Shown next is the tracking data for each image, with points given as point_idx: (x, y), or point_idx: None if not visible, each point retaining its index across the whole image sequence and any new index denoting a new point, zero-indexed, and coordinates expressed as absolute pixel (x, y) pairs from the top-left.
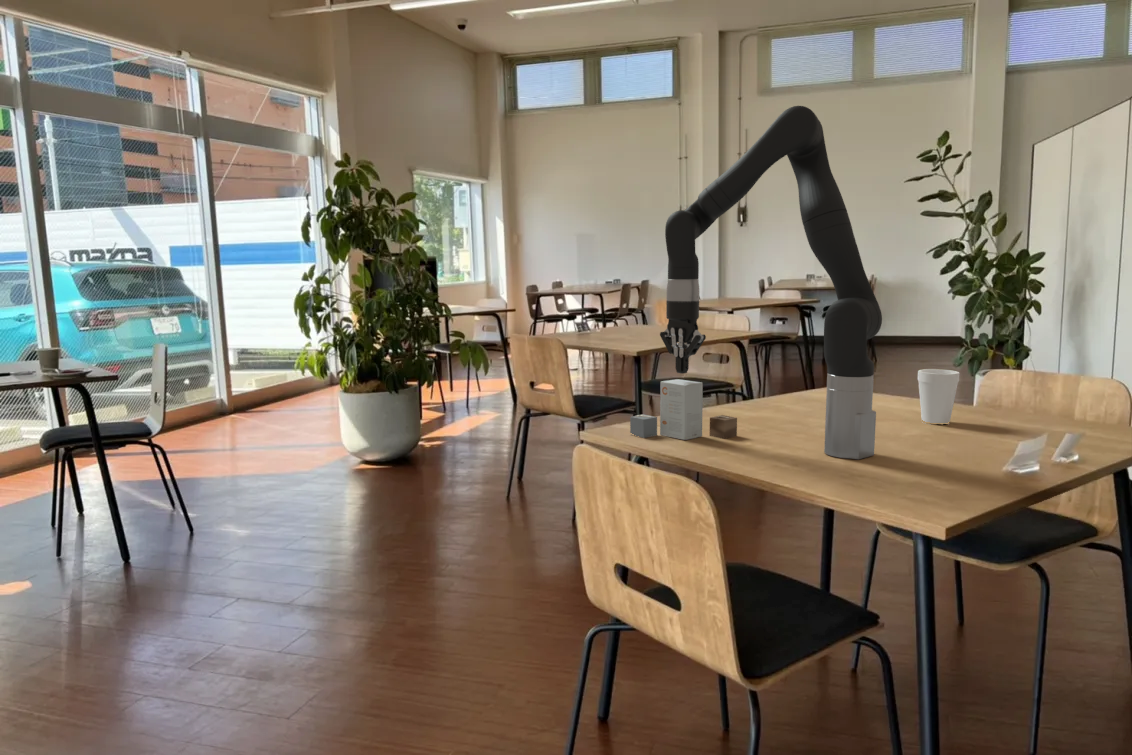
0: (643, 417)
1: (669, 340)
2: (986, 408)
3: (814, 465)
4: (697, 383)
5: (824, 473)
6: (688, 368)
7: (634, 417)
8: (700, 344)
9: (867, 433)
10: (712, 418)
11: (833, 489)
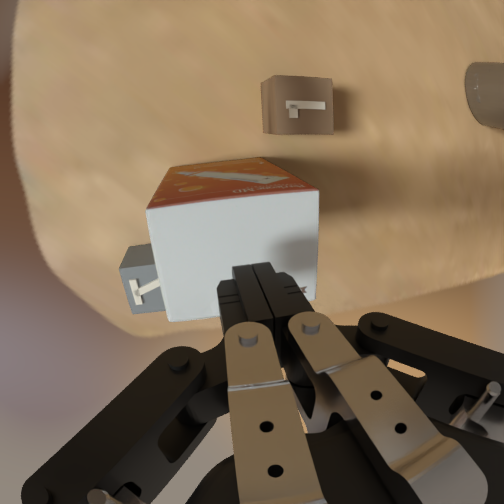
0: (157, 294)
1: (154, 480)
2: None
3: (481, 184)
4: (317, 225)
5: (492, 208)
6: (292, 277)
7: (145, 311)
8: (471, 356)
9: None
10: (287, 134)
11: (500, 250)
